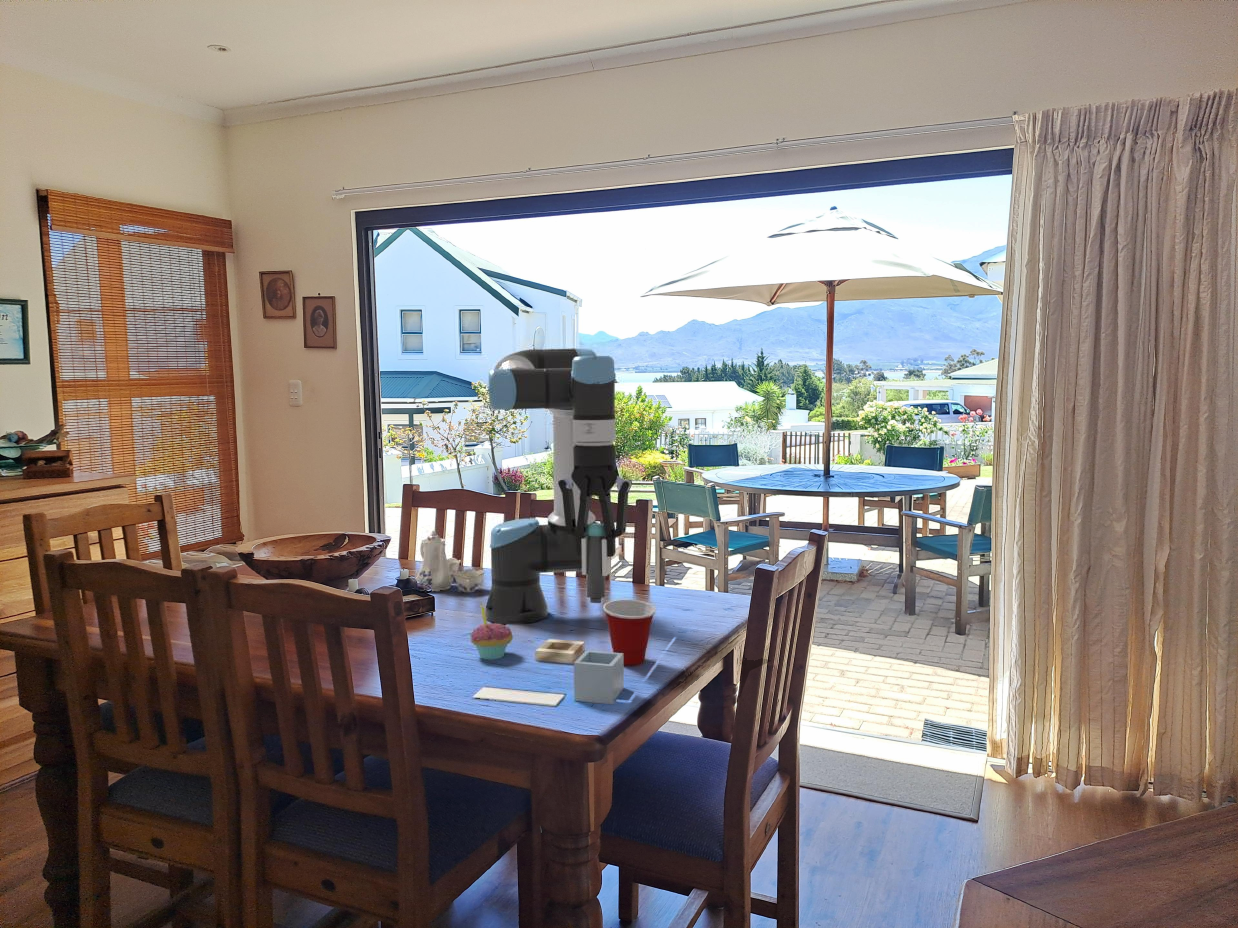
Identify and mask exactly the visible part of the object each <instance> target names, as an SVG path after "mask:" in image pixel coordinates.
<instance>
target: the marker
mask: <svg viewBox="0 0 1238 928" xmlns="http://www.w3.org/2000/svg"><path fill="white" fill-rule="evenodd" d="M605 537H606V535H605V528H604V523H600V524H588V561H587V575H586V597H587V598H589V601H590V603H591V604H601V603H602V598H605V594H606V590H605V589H606V576H602V539H604V538H605Z"/></svg>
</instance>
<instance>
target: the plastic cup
mask: <svg viewBox="0 0 1238 928" xmlns="http://www.w3.org/2000/svg"><path fill="white" fill-rule="evenodd" d="M602 609H603V611H604V613H605V617H606V621H607V625H608V633H609V638H610V639H609V640H610V643H611V645H610V646H611V648H612V652H613V653H623V664H624V667H636V666H640V665H642V664H643V663H644V662H645V659H646V654H647V649H648V643H649V637H650V631H651V624H652V621H653V619H654V616H655V614H656V611H657V610H658V609H657V607H656V605H653V604H652V603H650V602H647V601H643V600H637V599H615V600H611V601H608V602H606V603H604V605H603V606H602Z"/></svg>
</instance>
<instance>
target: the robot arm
mask: <svg viewBox="0 0 1238 928" xmlns="http://www.w3.org/2000/svg"><path fill="white" fill-rule="evenodd" d="M616 374H617V373H616V372H615V360H614V358H613V357H611V356H610V355H597V353H596V352H595V351H593V350H591V349H587V348H577V347H575V348H545V349H544V348H543V349H542V348H541V349H537V348H533V349H530V348H529V349H524V350H519V351H517V352H514V353H510V354H508V355H506V356H504V357H503V358H501V359H500V360H499V361H498V362H497V363H496V365H495V366H494V368H493V369H491V370H490V371H489V372H488V402H489V403H488V404H489V407H490V408H491V409H492V410H504V411H511V410H534V409H535V410H537V409H538V410H539V409H540V410H541V409H542V410H543V409H548V410H549V412H550V413H552V433H553V434H552V435H553V436H552V437H553V440H552V441H553V450H552V451H553V455H552V456H553V511H552V512H551V513H550V514H549V515H548V516H547V524H540V522H539V520H538V519H536V518H532V517H531V518H517V519H513V520H509V521H508V520H507V521H503V522H502V523H498V524H496V525H494V526H493V528H492V529H491V531H490V543H489V548H490V557H491V558H490V565H491V570H490V571H491V586H490V587H491V588H490V591H489V594H488V598H487V600H486V604H485V606H484V610H485V615H486V620H487V621H489V622H490V623H498V624H502V625H508V624H530V623H531V624H532V623H534V622H538V621H542V620H544V619H546V618H547V617H548V616H549V615H548V614H549V613H548V603H547V601H546V598H545V595H544V591H543V589H542V586H541V578H540V577H541V576H540V574H542V573H544V574H545V573H548V574H549V573H568V572H569V573H570V572H572V573H573V572H576V573H579V572H581V575H582V576H583V575H584V576H587V561H588V524H601V523H600V522H597V521H596V518H597V517H596V515H595V514H594V513H593V512H592V511H590V507H591V500H592V497H593V496H595V497H597V498H598V501H599V504H600V509H601V516H602V521H603V522H602V523H603V524H604V528H605V535H606V537H605V538H604V539H602V576H605V577H608V575H610V574H611V571H612V570H611V568H612V565H611V564H612V563H611V557H612V558H613V557H614V556H615V555H616V550H617V549H616V539H617V538H618V537H620V536H623V535H624V534H625V533H626V530H627V519H628V518H627V516H628V502H629V492H630V491H631V488H632V486H633V481H632V480H631V479H627V480H626V479H625V478H623V477H621V476H620V475H619V472H618V470H617V459H616V458H617V455H616V454H617V451H616V449H617V448H616V446H615V444H613V442H615V441H616V440H617V439H616V411H615V410H616V408H615V407H616V406H615V403H616V402H615V401H616V395H615V394H616V393H615V392H616V389H615V387H616V386H615V385H616V381H615V379H616V377H617V376H616ZM615 484H616V489H617V491H618V495H617V506H616V507H617V508H616V519H614V512H613V508H612V507H613V506H612V501H611V499H612V496H611V490H612V489H613V487H614V486H615ZM615 521H616V522H615Z"/></svg>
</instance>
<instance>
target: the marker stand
mask: <svg viewBox="0 0 1238 928" xmlns="http://www.w3.org/2000/svg"><path fill="white" fill-rule="evenodd" d="M585 651H586V643H585V641H579V640H578V641H577V640H567V639H566V640H563V639H554V638H553V639H551V638H549V639H547V640H546V641H545V642H543V643H542V644H541V645H539V647H538V648H537V649H535V651H534V655H535V656H534V659H535V660H534V661H539V662H548V663H558V664H560V663H561V664H562V663H563V664H573V665H574V662H575V661H576V660H577V659H578V658H579V657H580V656H581V655H582V654H583V653H584V652H585Z"/></svg>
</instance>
